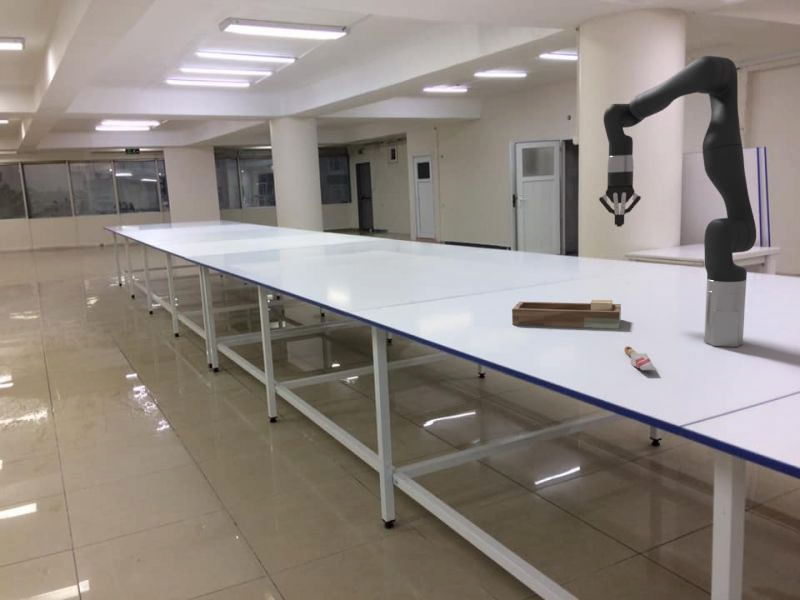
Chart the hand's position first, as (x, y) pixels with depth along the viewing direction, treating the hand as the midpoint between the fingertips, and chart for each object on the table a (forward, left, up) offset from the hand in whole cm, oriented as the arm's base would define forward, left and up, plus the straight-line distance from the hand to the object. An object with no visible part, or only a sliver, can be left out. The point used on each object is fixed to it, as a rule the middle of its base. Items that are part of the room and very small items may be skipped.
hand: (619, 226), depth 199 cm
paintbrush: (-52, -7, -29) cm, 60 cm away
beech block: (-11, +4, -26) cm, 28 cm away
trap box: (-11, +15, -29) cm, 34 cm away
